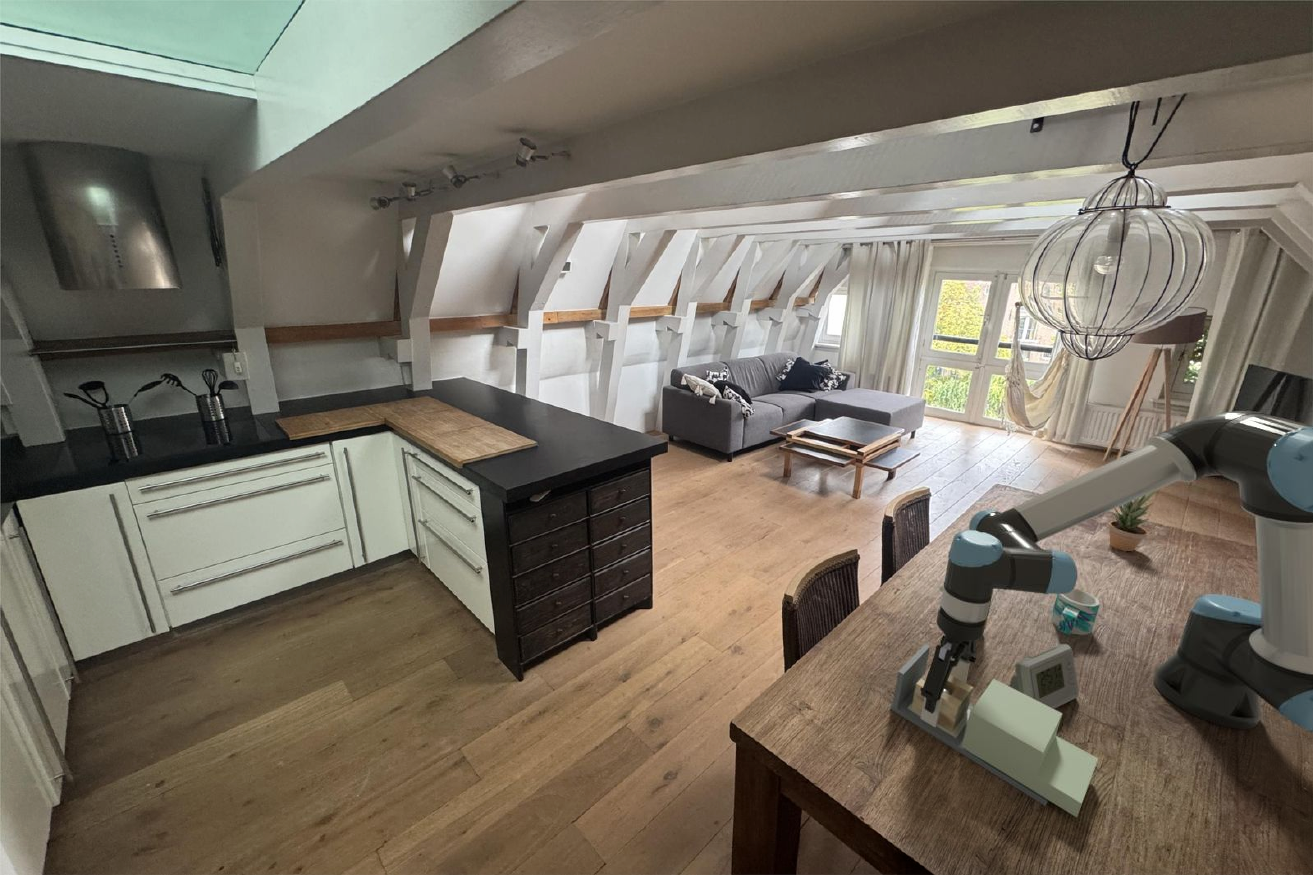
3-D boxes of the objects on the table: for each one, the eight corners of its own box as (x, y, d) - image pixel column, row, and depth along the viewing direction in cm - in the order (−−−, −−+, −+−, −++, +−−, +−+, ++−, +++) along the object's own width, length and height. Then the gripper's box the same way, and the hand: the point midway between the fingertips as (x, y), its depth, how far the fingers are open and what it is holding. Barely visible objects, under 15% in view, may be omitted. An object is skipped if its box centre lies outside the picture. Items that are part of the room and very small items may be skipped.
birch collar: (967, 711, 100) (973, 687, 99) (952, 732, 96) (958, 707, 94) (927, 689, 106) (932, 665, 104) (911, 707, 101) (916, 683, 99)
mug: (1094, 626, 128) (1103, 597, 126) (1083, 647, 121) (1092, 617, 118) (1055, 610, 134) (1062, 583, 132) (1041, 629, 127) (1049, 600, 124)
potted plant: (1149, 555, 162) (1173, 483, 155) (1119, 554, 162) (1142, 483, 155) (1122, 539, 172) (1144, 471, 165) (1094, 539, 172) (1114, 471, 165)
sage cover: (1093, 771, 88) (1106, 735, 86) (1076, 817, 80) (1090, 779, 78) (985, 711, 100) (993, 678, 98) (961, 746, 93) (970, 711, 90)
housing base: (1064, 762, 91) (1078, 721, 88) (1045, 806, 83) (1059, 762, 81) (917, 679, 110) (924, 643, 107) (890, 709, 102) (897, 670, 100)
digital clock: (1026, 723, 99) (1038, 679, 96) (988, 688, 108) (999, 647, 105) (1093, 710, 103) (1107, 667, 99) (1051, 678, 111) (1063, 637, 108)
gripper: (965, 578, 105) (948, 663, 111) (911, 630, 89) (895, 725, 95) (1007, 595, 99) (986, 683, 105) (958, 652, 84) (937, 752, 90)
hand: (943, 703), depth 100 cm, fingers open, 13 cm apart
